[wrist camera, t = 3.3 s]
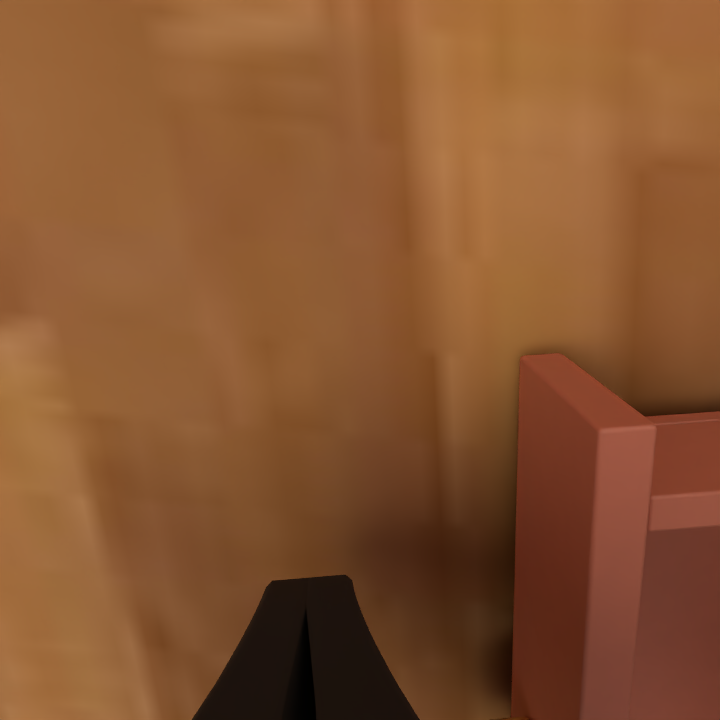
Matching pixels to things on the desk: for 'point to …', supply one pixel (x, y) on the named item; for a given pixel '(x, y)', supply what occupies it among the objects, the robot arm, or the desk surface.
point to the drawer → (613, 555)
